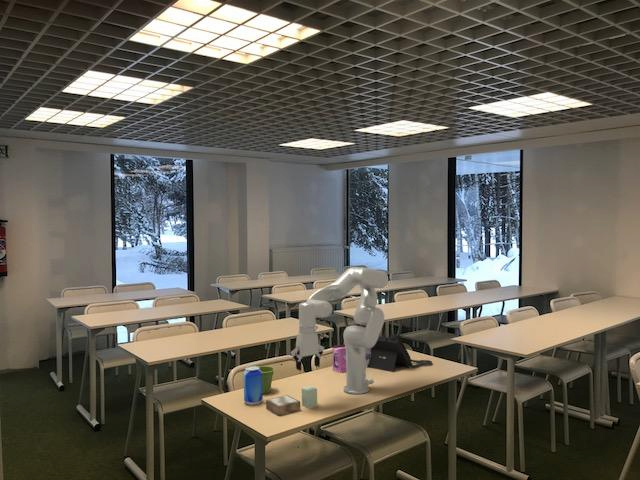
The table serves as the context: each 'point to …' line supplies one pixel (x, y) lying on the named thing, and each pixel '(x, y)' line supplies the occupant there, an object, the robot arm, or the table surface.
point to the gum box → (340, 357)
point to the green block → (309, 397)
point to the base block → (283, 405)
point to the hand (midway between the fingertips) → (308, 368)
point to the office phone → (391, 354)
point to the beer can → (252, 385)
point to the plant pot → (266, 378)
